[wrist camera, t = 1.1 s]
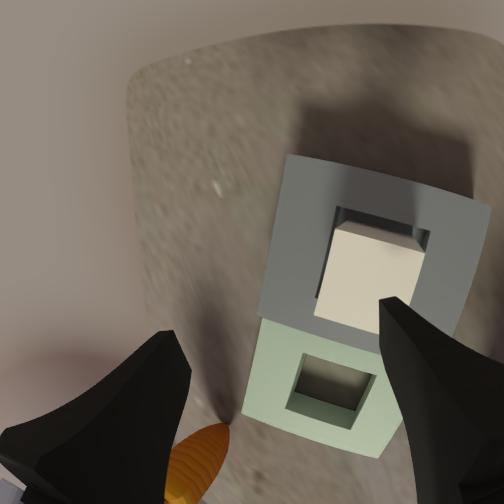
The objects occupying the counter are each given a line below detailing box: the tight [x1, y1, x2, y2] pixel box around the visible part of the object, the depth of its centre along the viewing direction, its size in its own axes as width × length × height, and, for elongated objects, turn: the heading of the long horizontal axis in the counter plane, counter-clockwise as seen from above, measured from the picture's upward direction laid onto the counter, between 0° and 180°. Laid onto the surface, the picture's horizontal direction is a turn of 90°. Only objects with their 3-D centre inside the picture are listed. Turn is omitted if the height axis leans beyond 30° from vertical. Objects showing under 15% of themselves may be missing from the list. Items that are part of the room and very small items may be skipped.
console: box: [241, 154, 492, 459], centre depth 19 cm, size 20×12×4 cm, turn 170°
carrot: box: [164, 423, 229, 504], centre depth 21 cm, size 5×5×15 cm
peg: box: [314, 219, 425, 334], centre depth 15 cm, size 4×4×6 cm
